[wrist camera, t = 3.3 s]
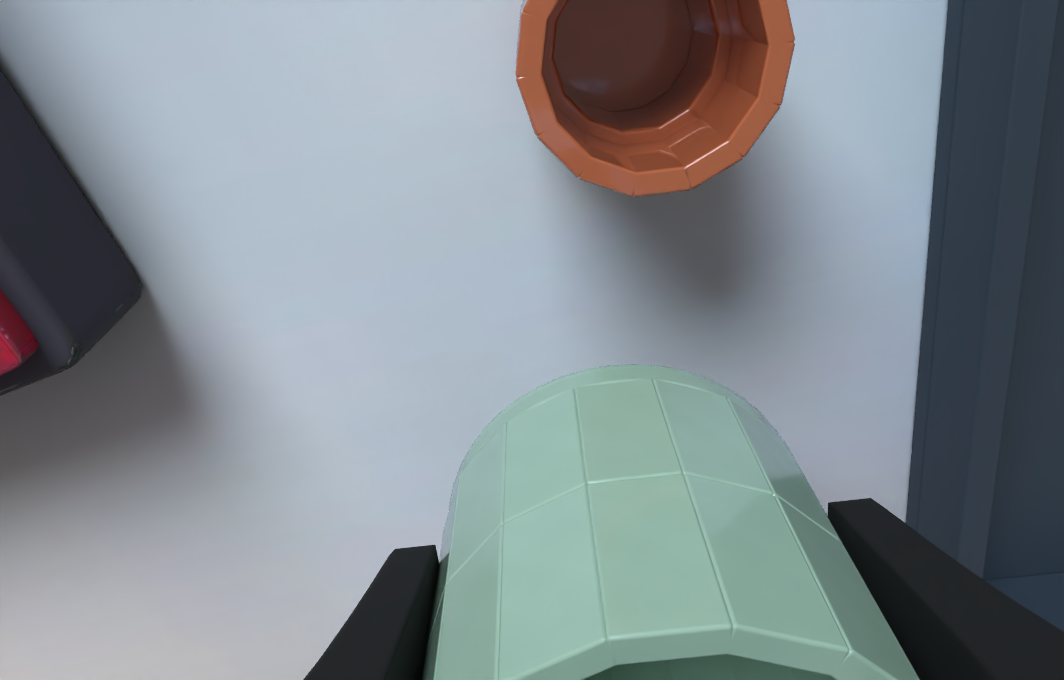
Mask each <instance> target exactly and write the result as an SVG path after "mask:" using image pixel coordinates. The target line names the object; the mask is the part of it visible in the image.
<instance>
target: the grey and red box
mask: <svg viewBox="0 0 1064 680" xmlns="http://www.w3.org/2000/svg"><path fill="white" fill-rule="evenodd" d="M140 294H141V285H140V281H139V279H138V278H137V276H136V274H135V272H134V271H133V269H132V268H131V266H130V265H129V263H128V262H127V260H126V259H125V257H124V256H123V254H122V253H121V251H120V250H119V248H118V247H117V245H116V244H115V242H114V241H113V239H112V238H111V236H110V235H109V233H108V232H107V230H106V229H105V227H104V226H103V224H102V223H101V221H100V220H99V218H98V217H97V215H96V214H95V212H94V211H93V209H92V208H91V206H90V205H89V203H88V202H87V200H86V199H85V197H84V196H83V194H82V193H81V191H80V190H79V188H78V187H77V185H76V183H75V182H74V180H73V179H72V177H71V176H70V174H69V173H68V171H67V170H66V168H65V167H64V165H63V164H62V162H61V161H60V159H59V158H58V156H57V155H56V153H55V152H54V150H53V149H52V147H51V146H50V144H49V143H48V141H47V140H46V138H45V137H44V135H43V134H42V132H41V131H40V129H39V128H38V126H37V125H36V123H35V122H34V120H33V119H32V117H31V116H30V114H29V113H28V111H27V110H26V108H25V107H24V105H23V104H22V102H21V101H20V99H19V98H18V96H17V95H16V93H15V92H14V90H13V89H12V87H11V86H10V84H9V83H8V81H7V80H6V78H5V77H4V75H3V74H2V72H1V71H0V396H1V395H3V394H6V393H8V392H11V391H13V390H16V389H18V388H21V387H24V386H26V385H29V384H31V383H34V382H36V381H39V380H42V379H44V378H47V377H49V376H52V375H54V374H57V373H59V372H62V371H64V370H66V369H68V368H70V367H72V366H73V365H74V364H76V363H77V362H78V361H79V360H80V359H81V358H82V357H83V356H84V355H85V354H86V353H87V352H88V351H89V350H90V349H91V348H92V347H93V346H94V345H95V344H96V343H97V342H98V341H99V340H100V339H101V338H102V337H103V336H104V335H105V334H106V333H107V332H108V331H109V330H110V329H111V328H112V327H113V326H114V325H115V324H116V323H117V322H118V321H119V320H120V319H121V318H122V317H123V315H124V314H125V313H126V312H127V311H128V310H129V309H130V308H131V307H132V306H133V305H134V304H135V303H136V302H137V300H138V299H139V297H140Z"/></svg>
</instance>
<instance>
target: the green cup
mask: <svg viewBox="0 0 1064 680" xmlns="http://www.w3.org/2000/svg"><path fill="white" fill-rule="evenodd" d="M422 680H920V679H919V677H918V675H917V673H916V672H915V670H914V668H913V666H912V665H911V663H910V661H909V659H908V658H907V656H906V654H905V652H904V651H903V649H902V647H901V645H900V643H899V642H898V640H897V638H896V636H895V635H894V633H893V631H892V629H891V628H890V626H889V624H888V622H887V621H886V619H885V617H884V615H883V614H882V612H881V610H880V608H879V606H878V605H877V603H876V601H875V599H874V598H873V596H872V594H871V592H870V591H869V589H868V587H867V585H866V584H865V582H864V580H863V578H862V577H861V575H860V573H859V571H858V570H857V568H856V566H855V564H854V562H853V561H852V559H851V557H850V555H849V554H848V552H847V550H846V548H845V547H844V545H843V543H842V541H841V540H840V538H839V536H838V534H837V533H836V531H835V529H834V527H833V526H832V524H831V522H830V520H829V518H828V517H827V515H826V513H825V511H824V510H823V508H822V506H821V504H820V503H819V501H818V499H817V497H816V496H815V494H814V492H813V490H812V489H811V487H810V485H809V483H808V482H807V480H806V478H805V476H804V474H803V473H802V471H801V469H800V467H799V466H798V464H797V462H796V460H795V459H794V457H793V455H792V453H791V452H790V450H789V448H788V446H787V445H786V443H785V441H784V440H783V439H782V438H781V437H780V436H779V434H778V432H777V431H776V429H775V428H774V427H773V426H772V425H771V424H770V422H769V421H768V420H767V419H766V418H765V417H764V415H763V414H762V413H761V412H759V411H758V410H757V409H756V408H755V407H754V406H753V405H751V404H750V403H749V402H748V401H747V400H746V399H744V398H742V397H741V396H739V395H738V394H736V393H735V392H733V391H732V390H730V389H729V388H727V387H725V386H723V385H720V384H718V383H716V382H714V381H712V380H710V379H708V378H705V377H702V376H699V375H696V374H693V373H690V372H686V371H683V370H678V369H673V368H667V367H662V366H653V365H637V364H631V365H613V366H605V367H599V368H593V369H587V370H583V371H580V372H576V373H573V374H570V375H566V376H563V377H560V378H558V379H556V380H553V381H551V382H549V383H546V384H544V385H542V386H539V387H538V388H536V389H534V390H533V391H531V392H529V393H527V394H526V395H524V396H522V397H521V398H519V399H518V400H516V401H515V402H514V403H512V404H511V405H510V406H508V407H507V408H506V409H505V410H503V411H502V412H501V413H499V414H498V415H497V416H496V417H495V418H494V419H493V420H492V421H491V422H490V423H489V424H488V425H487V427H486V428H485V429H484V430H483V431H482V432H481V434H480V435H479V436H478V438H477V439H476V440H475V442H474V443H473V444H472V446H471V447H470V449H469V451H468V452H467V454H466V456H465V458H464V460H463V461H462V463H461V465H460V468H459V471H458V473H457V476H456V479H455V482H454V485H453V489H452V494H451V499H450V505H449V512H448V517H447V520H446V524H445V527H444V531H443V536H442V543H441V550H440V557H439V567H438V574H437V581H436V588H435V596H434V603H433V610H432V616H431V622H430V628H429V635H428V642H427V650H426V656H425V663H424V670H423V677H422Z"/></svg>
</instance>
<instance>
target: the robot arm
mask: <svg viewBox="0 0 1064 680" xmlns="http://www.w3.org/2000/svg"><path fill="white" fill-rule="evenodd" d="M828 518H829V520H830V522H831V524H832V526H833V527H834V529H835V531H836V533H837V534H838V536H839V538H840V540H841V541H842V543H843V545H844V547H845V548H846V550H847V552H848V554H849V555H850V557H851V559H852V561H853V562H854V564H855V566H856V568H857V570H858V571H859V573H860V575H861V577H862V578H863V580H864V582H865V584H866V585H867V587H868V589H869V591H870V592H871V594H872V596H873V598H874V599H875V601H876V603H877V605H878V606H879V608H880V610H881V612H882V614H883V615H884V617H885V619H886V621H887V622H888V624H889V626H890V628H891V629H892V631H893V633H894V635H895V636H896V638H897V640H898V642H899V643H900V645H901V647H902V649H903V651H904V652H905V654H906V656H907V658H908V659H909V661H910V663H911V665H912V666H913V668H914V670H915V672H916V673H917V675H918V677H919V679H920V680H1064V631H1062V630H1060V629H1059V628H1057V627H1056V626H1054V625H1052V624H1051V623H1049V622H1048V621H1046V620H1044V619H1043V618H1041V617H1040V616H1038V615H1036V614H1035V613H1033V612H1032V611H1030V610H1028V609H1027V608H1025V607H1024V606H1022V605H1020V604H1019V603H1017V602H1016V601H1014V600H1013V599H1011V598H1010V597H1008V596H1007V595H1005V594H1004V593H1002V592H1001V591H999V590H998V589H996V588H995V587H993V586H992V585H990V584H989V583H987V582H986V581H984V580H983V579H982V578H980V577H979V576H977V575H976V574H974V573H973V572H972V571H970V570H969V569H967V568H966V567H964V566H963V565H962V564H960V563H959V562H957V561H956V560H955V559H953V558H952V557H950V556H949V555H948V554H946V553H945V552H943V551H942V550H941V549H939V548H938V547H937V546H935V545H934V544H933V543H931V542H930V541H928V540H927V539H926V538H924V537H923V536H922V535H920V534H919V533H918V532H916V531H915V530H914V529H912V528H911V527H910V526H908V525H907V524H906V523H904V522H903V521H901V520H900V519H899V518H897V517H896V516H895V515H893V514H892V513H891V512H889V511H888V510H887V509H885V508H884V507H883V506H881V505H880V504H878V503H877V502H875V501H874V500H873V499H871V498H867V499H858V500H849V501H839V502H830V503H828ZM438 567H439V561H438V556H437V551H436V546H435V545H429V546H419V547H410V548H401V549H395V550H394V551H393V552H392V553H391V554H390V555H389V557H388V558H387V560H386V561H385V563H384V565H383V566H382V568H381V569H380V571H379V572H378V574H377V576H376V577H375V579H374V580H373V582H372V583H371V585H370V587H369V588H368V590H367V591H366V593H365V594H364V596H363V597H362V599H361V600H360V602H359V603H358V605H357V606H356V608H355V609H354V611H353V612H352V614H351V615H350V617H349V618H348V620H347V621H346V623H345V624H344V625H343V627H342V628H341V630H340V631H339V632H338V634H337V635H336V637H335V638H334V640H333V641H332V642H331V644H330V645H329V647H328V648H327V649H326V651H325V652H324V654H323V655H322V656H321V658H320V659H319V660H318V662H317V663H316V664H315V666H314V667H313V668H312V669H311V671H310V672H309V673H308V675H307V676H306V677H305V678H304V680H422V677H423V670H424V663H425V656H426V650H427V642H428V635H429V628H430V622H431V616H432V610H433V603H434V596H435V588H436V581H437V574H438Z"/></svg>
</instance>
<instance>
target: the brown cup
mask: <svg viewBox="0 0 1064 680" xmlns="http://www.w3.org/2000/svg"><path fill="white" fill-rule="evenodd" d="M794 40H795V37H794V33H793V28H792V23H791V18H790V14H789V9H788V4H787V0H523V3H522V5H521V10H520V21H519V32H518V43H517V58H516V77H517V78H516V81H517V84H518V87H519V90H520V92H521V95H522V98H523V101H524V104H525V107H526V110H527V112H528V115H529V118H530V121H531V124H532V127H533V129H534V132H535V134H536V135H537V137H538V139H539V140H540V141H541V142H542V143H543V144H544V145H545V146H546V147H547V148H548V149H549V150H550V151H551V152H552V153H553V154H554V155H555V156H556V157H557V158H558V159H559V160H560V161H561V162H562V163H563V164H564V165H565V166H566V167H567V168H568V169H569V170H570V171H571V172H572V173H573V174H574V175H575V176H576V177H579V178H580V179H581V180H584V181H587V182H590V183H593V184H596V185H598V186H601V187H604V188H607V189H610V190H613V191H616V192H619V193H622V194H625V195H628V196H635V197H638V196H646V195H655V194H663V193H671V192H679V191H688V190H690V189H693V188H695V187H697V186H699V185H700V184H702V183H704V182H705V181H707V180H709V179H710V178H712V177H714V176H715V175H717V174H719V173H720V172H722V171H724V170H725V169H727V168H728V167H730V166H732V165H733V164H735V163H737V162H738V161H740V160H741V159H742V157H744V156H746V154H747V153H748V152H749V150H750V149H751V147H752V146H753V145H754V143H755V142H756V140H757V139H758V138H759V136H760V135H761V133H762V132H763V131H764V129H765V128H766V127H767V125H768V124H769V122H770V121H771V120H772V118H773V117H774V115H775V114H776V113H777V111H778V110H779V108H780V106H779V105H781V103H782V100H783V96H784V91H785V87H786V82H787V78H788V73H789V69H790V64H791V60H792V55H793V51H794V46H795V44H794Z"/></svg>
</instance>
